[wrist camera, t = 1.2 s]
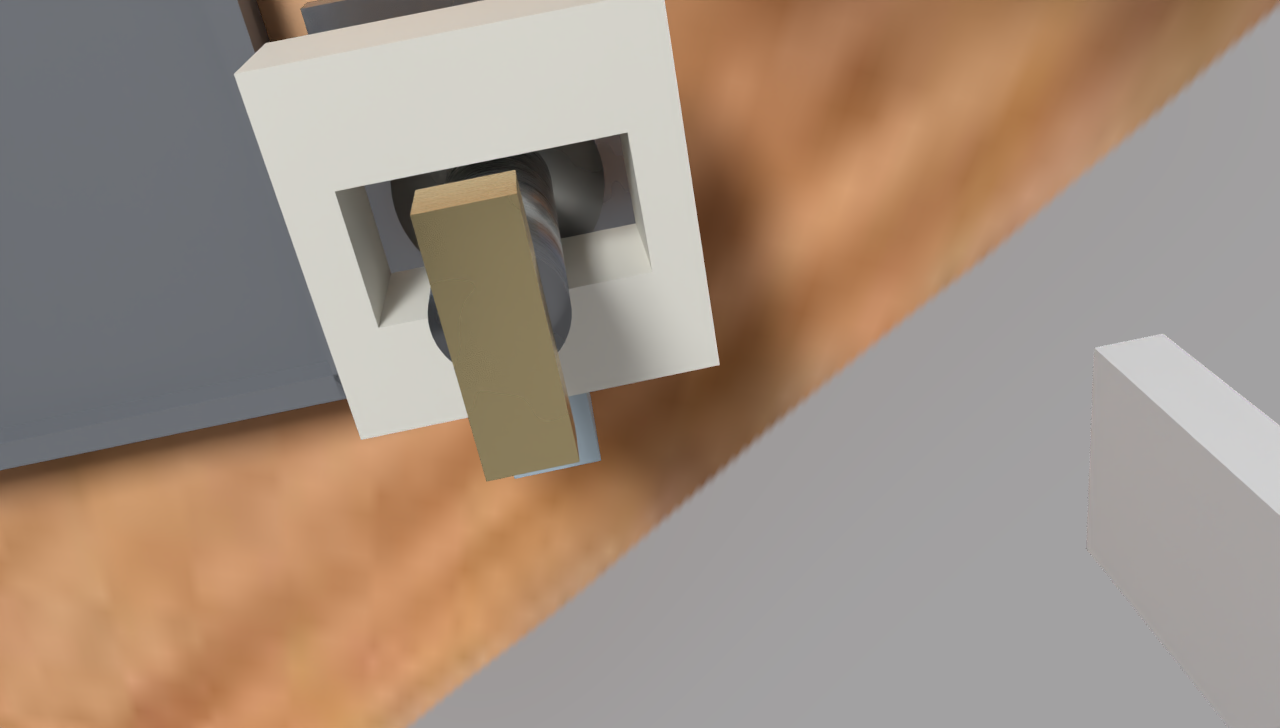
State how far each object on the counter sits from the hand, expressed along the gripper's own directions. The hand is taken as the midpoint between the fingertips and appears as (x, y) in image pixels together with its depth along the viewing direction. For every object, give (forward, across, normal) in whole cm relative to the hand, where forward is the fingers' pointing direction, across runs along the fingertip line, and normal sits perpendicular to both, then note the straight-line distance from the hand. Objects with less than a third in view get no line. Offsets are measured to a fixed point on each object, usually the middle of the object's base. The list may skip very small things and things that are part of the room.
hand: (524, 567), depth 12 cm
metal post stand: (+19, 0, 0) cm, 19 cm away
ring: (+14, 0, 0) cm, 14 cm away
